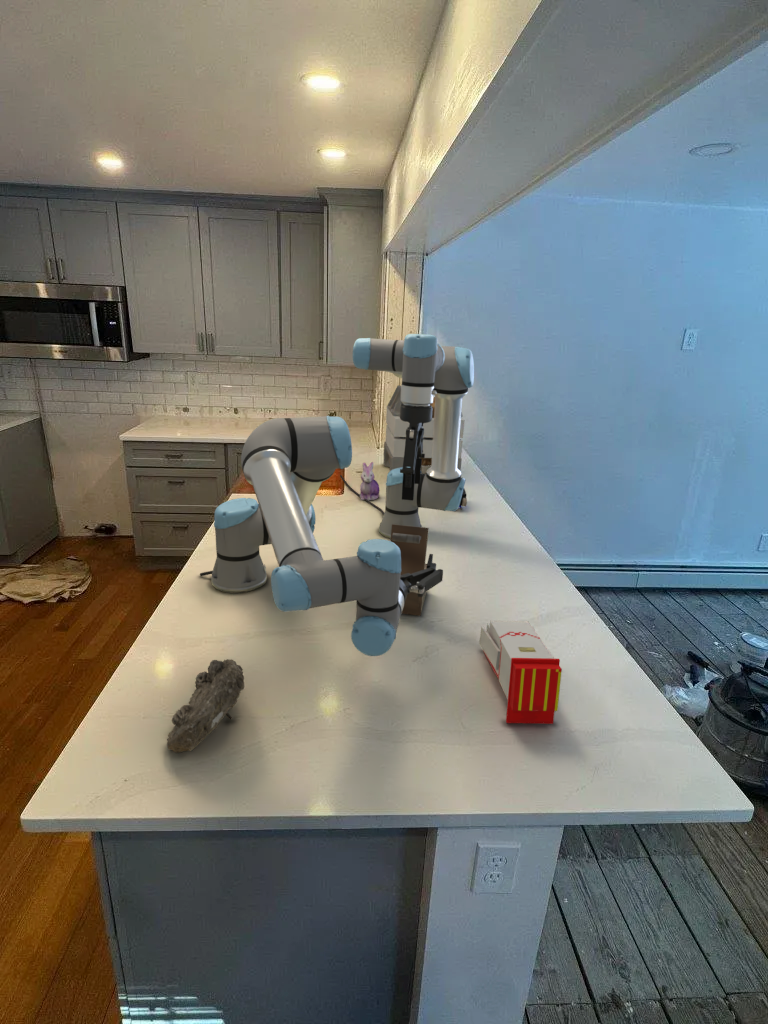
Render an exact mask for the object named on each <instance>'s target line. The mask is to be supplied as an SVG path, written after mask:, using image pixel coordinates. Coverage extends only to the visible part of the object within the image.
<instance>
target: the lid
mask: <svg viewBox="0 0 768 1024" xmlns="http://www.w3.org/2000/svg"><path fill="white" fill-rule="evenodd" d="M429 528H430V527H425V526H422V527H415V526H405V525H396V524H392V529H391V539H389V541H391V542H393V543H395V544H396V545H397V546H398V547H399V549H400V551H401V569H402V570H401V575H403V574H406V573H409V574H412V573H415V572H418V571H421V570H424V569H425V564H426V559H427V550H428V548H427V547H428V539H429V530H430V529H429Z"/></svg>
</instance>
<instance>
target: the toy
mask: <svg viewBox="0 0 768 1024" xmlns="http://www.w3.org/2000/svg"><path fill="white" fill-rule="evenodd" d="M478 642H479V643H478V644H479V646H480V647H481V650H482V651H483V654H484V655H485V657H486V659H487V661H488V663H489V664H490V666H491V669H492V670H493V672H494V674H495V676H496V678H497V679H498V682H499V684H500V687H501V688H502V691H503V693H504V695H505V697H506V699H507V706H506V717H505V722H506V724H547V725H549V724H551V725H553V724H554V718H555V712H558V711H559V710H558V709H559V698H560V689H561V682H562V681H561V680H562V672H563V671H562V667H561V666H560V663H561V659H560V658H554V656H553V654H552V653H551V651H550V650H549V649H548V647H547V646H546V644H545V643H544V642H543V640H542V638H540V636H539V635H538V633H537V631H536V630H535V627H534V626H532V625H531V623H530V622H529V620H528V621H527V620H526V621H525V620H524V621H523V620H490V621H489V622H487V623H486V628H485V626H480V634H479V641H478Z"/></svg>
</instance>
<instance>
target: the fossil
mask: <svg viewBox="0 0 768 1024" xmlns="http://www.w3.org/2000/svg"><path fill="white" fill-rule="evenodd" d="M243 670H244V669H243V667H242V665H240V664H237V662H236V661H235V660H234V659H232V658H231V659H227V658H226V659H224V660H223V661H222V660H217V659H212V660H211V661H210V663H209V665H208V666H207V671H201V672H199V673H198V674H197V675H196V676H195V680H194V684H195V685H194V687H195V689H194V690H193V693H192V694H191V697H190V698H189V700H188V704H184V705H182V706H181V707H180V709H177V710H176V711H175V713H174V715H173V716H172V718H171V723H172V724H173V727H172V730H171V731H170V732H168V734H167V738H166V741H167V742H166V745H167V749H168V750H169V751H173V752H174V753H176V754H178V753H182V752H188V751H189V752H192V751H193V750H195V748H196V747H197V746H199V744H200V743H201V742H203V741H204V740H205V739H206V738H207V737H208V736H209V735H210V734H211V733H212V732H214V730H215V729H217V727H218V726H219V724H220V722H221V721H222V720H223V719H224V718H225V716H226V717H227V719H229V720H233V717H232V715H230V714H229V710H230V709H231V708H234V706H235V704H236V703H237V702H238V699H239V697H240V695H241V693H242V691H243V690H245V689H244V688H245V675H244V671H243Z"/></svg>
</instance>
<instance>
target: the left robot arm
mask: <svg viewBox="0 0 768 1024" xmlns="http://www.w3.org/2000/svg"><path fill="white" fill-rule="evenodd" d="M352 459H353V445H352V438H351V432H350V429H349V426H348V424H347V422H346V420H344V418H343V417H341V416H330V415H326V416H325V415H324V416H306V417H305V416H303V417H276V418H271V419H268V420H266V421H264V422H263V423H261V424H259V425H258V426H256V428H255V429H253V430H252V432H251V433H250V434H249V435H248V437H247V438H246V440H245V442H244V444H243V448H242V450H241V456H240V462H241V463H240V464H241V469H242V474H243V476H244V478H245V481H246V482H247V483H248V484H250V485H251V486H252V487H253V490H254V493H255V497H256V498H255V499H254V498H251V497H248V498H246V497H237V498H233V499H229V500H227V501H224V502H222V503H221V504H219V505H218V506H217V507H216V508H215V510H214V521H213V526H214V532H215V534H214V535H215V551H216V558H215V561H214V565H213V569H212V570H210V571H204V572H200V573H199V576H200V577H205V576H209V575H211V577H210V579H211V585H212V587H213V588H215V589H216V590H218V591H219V592H224V593H230V594H231V593H232V594H239V593H240V594H241V593H247V592H252V591H254V590H257V589H259V588H261V587H263V586H264V585H265V584H266V583H267V580H268V574H267V566H266V563H264V562H263V560H262V557H261V555H260V546H267V545H271V546H272V550H273V553H274V556H275V559H276V562H277V564H278V566H276V567H275V568H274V569H273V570H272V571H271V576H270V584H271V586H270V587H271V592H272V597H273V599H272V600H273V602H274V605H275V607H276V608H277V609H278V610H279V611H281V612H284V613H287V612H298V611H308V610H309V609H314V608H315V609H316V608H320V607H321V608H322V607H327V606H331V605H337V604H343V603H349V602H356V610H355V611H356V612H355V621H354V622H353V624H352V628H351V634H350V638H351V642H352V644H353V646H354V647H355V649H356V650H357V652H360V653H361V654H362V655H365V656H369V657H380V656H382V655H385V654H386V653H388V652H389V651H390V650H391V648H392V646H393V644H394V642H395V640H396V638H397V631H398V627H399V623H400V620H401V617H402V615H403V614H402V611H403V607H404V604H405V601H406V597H407V594H409V593H410V592H415V593H417V596H418V597H423V595H424V593H425V592H426V593H427V592H428V591H430V590H431V589H433V588H434V587H436V586H437V585H438V584H440V583H442V582H443V578H444V570H443V569H441V568H438V569H437V563H436V562H433V558H434V554H433V553H429V554H428V555H429V556H428V559H427V562H426V564H427V569H424V570H421V571H418V572H415V573H412V574H409V573H406V574H403V575H401V570H402V569H401V551H400V549H399V547H398V546H397V545H396V544H395V543H393V542H391V541H390V540H388V539H383V538H382V539H381V538H372V539H371V538H370V539H366V541H362V542H361V543H360V544H359V545H358V548H357V551H356V555H354V556H347V557H341V558H340V557H339V558H333V559H332V558H331V559H325V560H324V558H323V556H322V553H321V550H320V548H319V544H318V543H317V541H316V538H315V535H314V532H315V528H316V526H315V525H316V510H315V509H314V505H313V502H314V500H315V498H316V496H317V494H318V491H319V489H320V488H321V486H322V484H323V482H325V481H328V480H329V479H330V478H331V477H332V476H333V475H334V473H335V472H336V470H337V469H340V470H344V469H347V468H349V467H350V466H351V464H352V461H353V460H352Z"/></svg>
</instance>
